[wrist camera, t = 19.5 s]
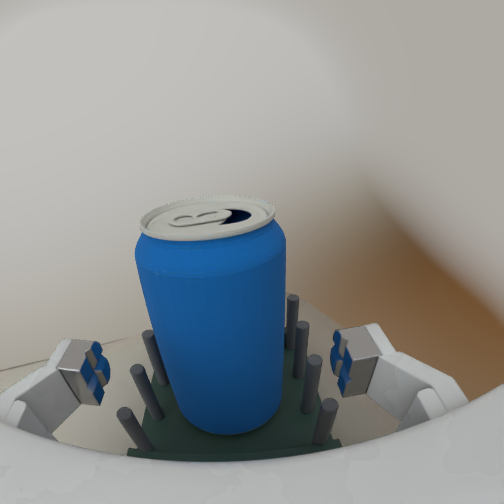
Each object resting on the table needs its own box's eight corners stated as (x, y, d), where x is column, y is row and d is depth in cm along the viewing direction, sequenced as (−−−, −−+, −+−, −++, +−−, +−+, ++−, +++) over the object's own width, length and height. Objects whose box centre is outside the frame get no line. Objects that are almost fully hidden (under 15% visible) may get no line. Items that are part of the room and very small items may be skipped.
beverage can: (298, 422, 15) (316, 222, 10) (190, 451, 13) (121, 253, 8) (260, 355, 20) (254, 188, 16) (173, 375, 19) (134, 205, 14)
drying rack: (300, 346, 23) (304, 288, 20) (335, 465, 12) (357, 416, 10) (162, 354, 22) (147, 298, 20) (139, 474, 12) (100, 427, 10)
